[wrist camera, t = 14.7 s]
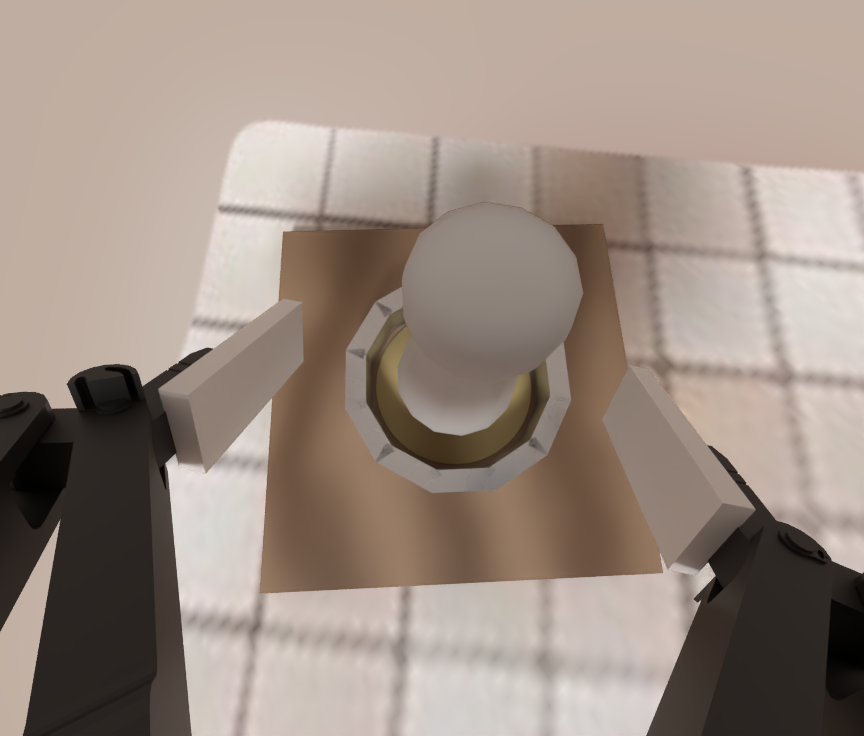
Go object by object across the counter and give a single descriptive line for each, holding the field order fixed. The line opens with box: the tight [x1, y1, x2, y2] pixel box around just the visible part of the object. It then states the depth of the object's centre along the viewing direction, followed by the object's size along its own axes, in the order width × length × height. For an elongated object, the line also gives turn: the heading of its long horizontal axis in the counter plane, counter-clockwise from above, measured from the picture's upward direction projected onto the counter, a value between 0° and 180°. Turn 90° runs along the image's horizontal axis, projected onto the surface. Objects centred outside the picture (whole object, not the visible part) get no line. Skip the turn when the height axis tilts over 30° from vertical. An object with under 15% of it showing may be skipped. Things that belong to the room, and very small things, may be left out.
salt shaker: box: [398, 202, 583, 436], centre depth 14 cm, size 6×6×13 cm
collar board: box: [260, 224, 663, 593], centre depth 20 cm, size 20×20×4 cm
